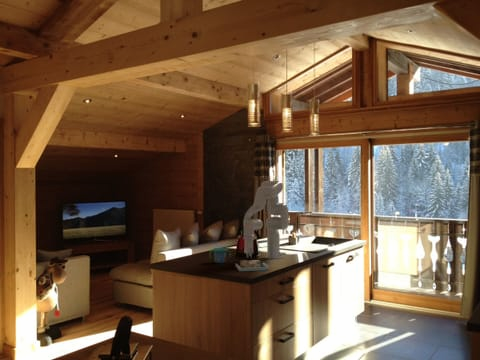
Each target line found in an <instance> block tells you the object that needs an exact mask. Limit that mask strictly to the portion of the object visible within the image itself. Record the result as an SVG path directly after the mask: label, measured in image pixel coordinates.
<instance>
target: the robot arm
mask: <svg viewBox="0 0 480 360" xmlns="http://www.w3.org/2000/svg"><path fill="white" fill-rule="evenodd" d="M283 188H284V184H283V183H282V181H280V180H264V181H262V182H261V184H260V186H258V188H257V189H256V192H255V197H254V200H253V201H254V202H253V204H252V205H251V206H250V207H249V208H248V210H247V211H246V212H245V213H244V217H243V222H242V224H243V240H244V246H243V247H244V248H243V249H244V251H243V252H244V254H245V255H246V260H253V259H252V256H253V254H254V241H255V230H257V231H258V230H261V229H262V228H263V225H264V224H263V221H262V220H261V219H258V218H252V217H253V216H254V215H255V214H256V213H257V212H260V211H262V210H264V209H265V207H266V205H267V213H268V214H269V217H267V218H266V219H265V227H266V236H267V237H266V242H267V244H266V248H267V249H266V252H267V253H266V255H265V258H266V259H269V260H270V259H271V260H276V259H277V260H279V259H282V257H283V256H286V254H287V253H286V252H281V251H280V249H281V247H280V242H281V241H280V239H281V238H280V233H279V231H278V230H283V231H284V230H286V229H288V227H289V209H288V205H287V204H286V203H283V202H279V194H280V193H281V192H282V191H283ZM266 203H267V204H266ZM270 215H271V216H270Z"/></svg>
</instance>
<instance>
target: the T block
mask: <svg viewBox="0 0 480 360" xmlns="http://www.w3.org/2000/svg"><path fill="white" fill-rule="evenodd" d="M239 266H240V268H252V267H262V263H261V259H252V260H247V259H244V260H243V259H242V260H239Z"/></svg>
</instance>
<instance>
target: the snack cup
mask: <svg viewBox="0 0 480 360" xmlns="http://www.w3.org/2000/svg"><path fill="white" fill-rule="evenodd" d="M227 252H228V253H229V258H231V256H232V254H231V250H230V249H228V248H227V247H214V248H212V249H211V250H210V251H209V259H211V253H213V256H214V257H213V258H214V263H216V264H225V263H226V260H227V259H226V258H227Z"/></svg>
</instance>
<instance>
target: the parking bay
mask: <svg viewBox="0 0 480 360" xmlns="http://www.w3.org/2000/svg"><path fill="white" fill-rule="evenodd" d="M235 268H236V270H238V272H257V271H258V272H259V271H270V267H269V265H268V264H266V263H265V262H262V263H261V267H252V268H248V267H240V264H238V263H235Z"/></svg>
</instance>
